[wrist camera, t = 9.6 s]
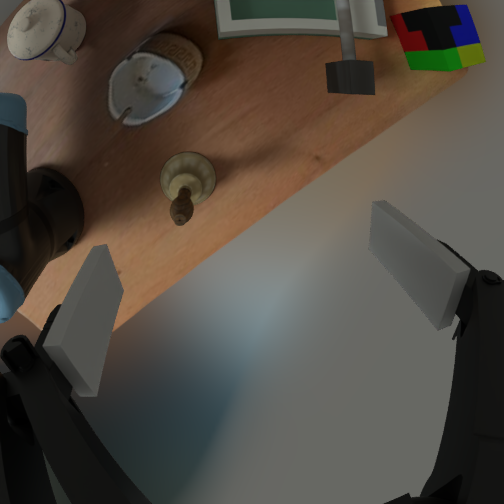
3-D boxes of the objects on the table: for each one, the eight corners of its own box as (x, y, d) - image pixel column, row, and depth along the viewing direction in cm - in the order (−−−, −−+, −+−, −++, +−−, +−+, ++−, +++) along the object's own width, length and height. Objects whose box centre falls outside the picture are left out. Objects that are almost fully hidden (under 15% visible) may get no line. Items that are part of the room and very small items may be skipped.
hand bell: (148, 177, 43) (124, 220, 29) (191, 140, 41) (184, 165, 27) (185, 215, 47) (179, 272, 33) (227, 181, 45) (238, 226, 31)
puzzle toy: (429, 10, 33) (466, 4, 24) (447, 59, 38) (485, 61, 29) (389, 16, 34) (426, 7, 25) (410, 69, 39) (449, 71, 30)
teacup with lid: (28, 40, 27) (-14, 34, 17) (70, -3, 26) (36, -22, 16) (64, 86, 33) (25, 89, 23) (109, 43, 32) (80, 30, 22)
